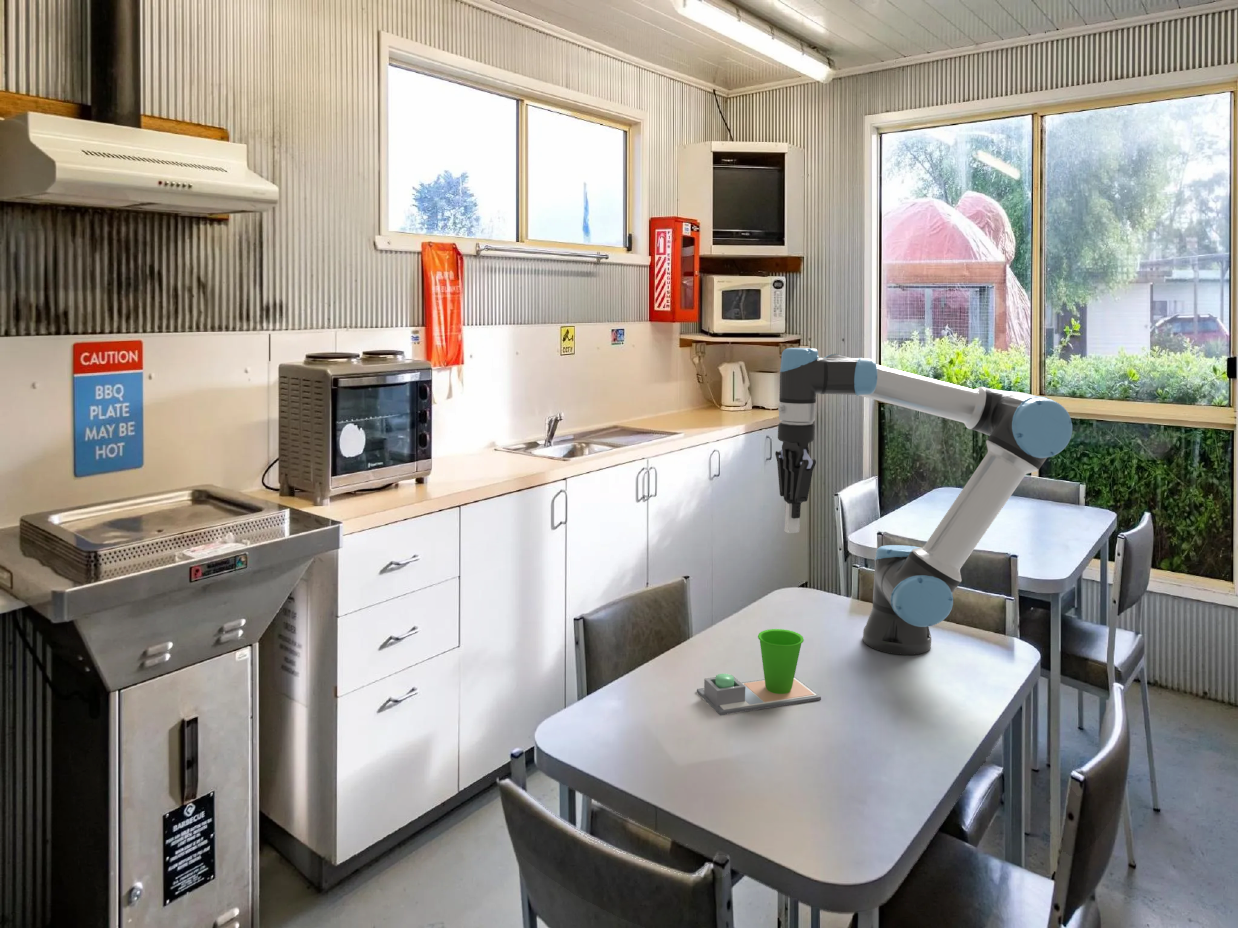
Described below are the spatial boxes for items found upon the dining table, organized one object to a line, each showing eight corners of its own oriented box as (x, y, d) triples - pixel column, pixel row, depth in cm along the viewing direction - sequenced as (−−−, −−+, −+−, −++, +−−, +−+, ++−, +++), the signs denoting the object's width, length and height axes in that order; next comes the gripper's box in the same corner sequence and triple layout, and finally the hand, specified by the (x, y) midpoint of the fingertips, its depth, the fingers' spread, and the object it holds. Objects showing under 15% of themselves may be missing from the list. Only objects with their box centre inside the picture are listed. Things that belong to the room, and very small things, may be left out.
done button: (728, 686, 177) (729, 672, 177) (736, 694, 174) (737, 679, 173) (712, 689, 176) (712, 674, 176) (720, 696, 173) (720, 682, 172)
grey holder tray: (792, 677, 186) (793, 660, 186) (820, 699, 176) (821, 681, 176) (696, 691, 179) (697, 673, 179) (720, 715, 169) (720, 696, 169)
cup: (801, 700, 174) (804, 646, 172) (755, 696, 176) (757, 643, 174) (801, 681, 183) (803, 630, 181) (756, 677, 184) (758, 627, 182)
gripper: (765, 419, 191) (761, 526, 195) (796, 427, 178) (791, 540, 182) (796, 418, 193) (792, 523, 197) (829, 425, 181) (823, 538, 185)
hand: (791, 531), depth 190 cm, fingers closed
